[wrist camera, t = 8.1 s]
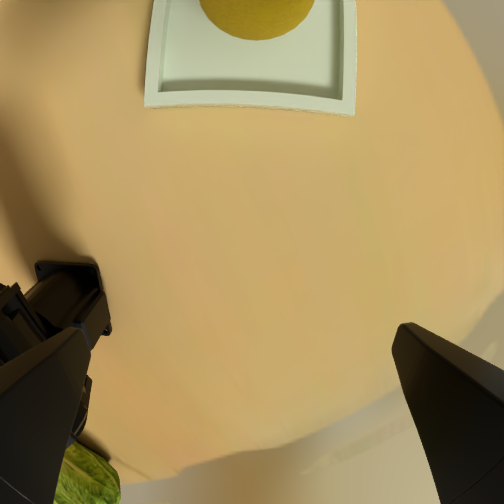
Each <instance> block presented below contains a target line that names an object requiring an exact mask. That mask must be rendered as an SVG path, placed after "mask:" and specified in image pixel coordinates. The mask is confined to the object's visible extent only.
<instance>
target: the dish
mask: <svg viewBox="0 0 504 504" xmlns="http://www.w3.org/2000/svg"><path fill="white" fill-rule="evenodd" d="M356 71H357V22H356V0H315V1H314V4H313V6H312V8H311V10H310V12H309V13H308V15H307V17H306V18H305V19H304V20H303V21H302V22H301V23H300V24H299V25H298V26H297V27H296V28H295V29H293V30H291V31H289V32H288V33H286V34H284V35H282V36H279V37H276V38H272V39H269V40H258V41H255V40H244V39H240V38H237V37H234V36H231V35H229V34H227V33H225V32H224V31H222V30H220V29H219V28H218V27H216V26H215V25H214V24H213V23H212V22H211V21H210V20H209V19H208V17H207V16H206V14H205V13H204V11H203V10H202V8H201V6H200V1H199V0H154V4H153V11H152V18H151V26H150V34H149V43H148V53H147V64H146V77H145V94H144V107H148V108H153V109H154V108H171V107H253V108H271V109H284V110H295V111H305V112H313V113H322V114H329V115H336V116H343V117H347V116H355V99H356Z"/></svg>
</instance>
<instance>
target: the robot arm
mask: <svg viewBox="0 0 504 504" xmlns="http://www.w3.org/2000/svg"><path fill="white" fill-rule="evenodd" d="M39 266H40V267H41V268H40V267H39ZM91 269H92V270H93V271H94V273H93V272H92V271H91ZM35 271H36V275H37V279H38V282H37V283H36V284H35V285H34V286H33V287H32V288H31V289H29V290H28V291H27V292H26V293H25V294H24V295H23V293H22V292H21V290H20V289H21V288H20V286H19V285H18V283H17V282H16V283H14V284H13V285H12V286H11V287H9V285H7V286H5V285H3V284H1V283H0V504H53V503H54V498H55V493H56V488H57V483H58V479H59V474H60V470H61V466H62V462H63V458H64V454H65V451H66V449H67V448H68V447H69V446H70V445H72V444H73V443H74V442H75V441H76V440H77V437H78V436H79V435H80V434H81V432H82V430H83V429H84V426H85V424H86V420H87V414H88V406H89V399H90V392H91V386H92V379H91V378H90V377H89V376H88V375H86V374H87V370H88V366H89V362H90V358H91V352H90V351H91V350H92V349H93V348H94V346H95V344H96V343H97V341H98V339H99V338H100V336H101V335H104V336H109V335H110V334H111V332H112V327H111V323H110V319H111V318H110V313H109V309H108V304H107V300H106V295H105V292H104V291H103V287H102V282H101V277H100V271H99V268H98V267H97V266H96V265H95V264H86V263H70V262H54V261H38V262H36V263H35ZM105 329H106V330H107V331H106V330H105ZM392 355H393V358H394V362H395V365H396V369H397V372H398V375H399V379H400V383H401V386H402V390H403V393H404V396H405V399H406V401H407V404H408V407H409V409H410V412H411V415H412V417H413V420H414V423H415V425H416V428H417V430H418V434H419V436H420V439H421V442H422V445H423V448H424V450H425V454H426V457H427V460H428V463H429V466H430V469H431V472H432V475H433V479H434V482H435V486H436V489H437V492H438V496H439V500H440V503H441V504H504V370H502V369H500V368H498V367H496V366H495V365H493V364H491V363H489V362H487V361H485V360H483V359H481V358H480V357H478V356H476V355H474V354H472V353H470V352H468V351H466V350H464V349H462V348H461V347H459V346H457V345H455V344H453V343H451V342H449V341H447V340H445V339H444V338H442V337H440V336H438V335H436V334H434V333H432V332H430V331H428V330H426V329H425V328H423V327H421V326H419V325H417V324H415V323H412V322H410V323H403V324H400V325H399V327H398V329H397V332H396V335H395V338H394V341H393V344H392Z"/></svg>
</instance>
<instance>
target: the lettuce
mask: <svg viewBox="0 0 504 504" xmlns="http://www.w3.org/2000/svg"><path fill="white" fill-rule="evenodd" d="M120 499H121V492H120V480H119V476H118V473H117V471H116V470H115V469H114V468H113V467H112V466H111V465H110V464H109V463H108V462H107V461H106V460H105V459H104V458H102V457H101V456H99V455H97V454H96V453H94V452H92V451H91V450H89V449H87V448H86V447H84V446H82V445H81V444H79V443H78V442H76V441H75V442H74V443H73V444H72V445H70V446H69V447H68V448H67V449H66V451H65V454H64V458H63V462H62V466H61V470H60V474H59V479H58V483H57V488H56V493H55V498H54V503H53V504H119V501H120Z"/></svg>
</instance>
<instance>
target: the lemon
mask: <svg viewBox="0 0 504 504" xmlns="http://www.w3.org/2000/svg"><path fill="white" fill-rule="evenodd" d="M199 1H200V6H201V8H202V10H203V11H204V13H205V14H206V16H207V17H208V19H209V20H210V21H211V22H212V23H213V24H214V25H215V26H216V27H218V28H219V29H220V30H222V31H224V32H225V33H227V34H229V35H231V36H234V37H237V38H240V39H244V40H255V41H258V40H269V39H272V38H276V37H279V36H282V35H284V34H286V33H288V32H289V31H291V30H293V29H295V28H296V27H297V26H298V25H299V24H300V23H301V22H302V21H303V20H304V19H305V18H306V17H307V15H308V13H309V12H310V10H311V8H312V6H313V4H314V1H315V0H199Z"/></svg>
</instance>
